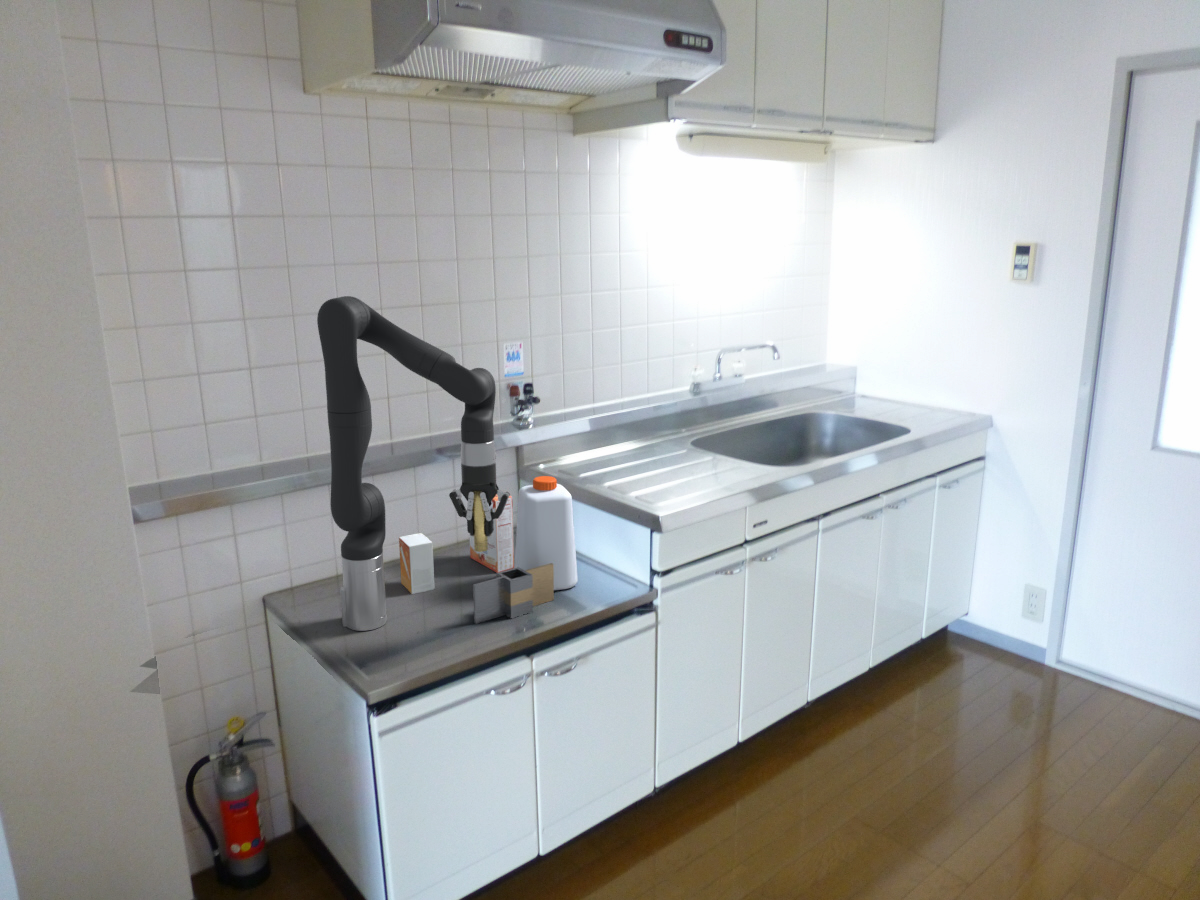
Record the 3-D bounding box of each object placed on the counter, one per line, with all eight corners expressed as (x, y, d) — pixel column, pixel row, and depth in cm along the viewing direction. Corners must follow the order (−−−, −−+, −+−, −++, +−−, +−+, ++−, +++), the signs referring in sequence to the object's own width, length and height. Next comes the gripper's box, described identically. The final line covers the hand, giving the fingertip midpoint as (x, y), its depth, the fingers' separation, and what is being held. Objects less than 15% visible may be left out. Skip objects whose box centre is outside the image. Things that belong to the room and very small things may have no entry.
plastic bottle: (581, 589, 223) (581, 484, 216) (524, 596, 219) (522, 489, 212) (565, 567, 237) (565, 468, 230) (511, 573, 233) (509, 473, 226)
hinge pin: (472, 551, 194) (470, 491, 190) (476, 546, 197) (474, 487, 193) (485, 552, 193) (484, 491, 190) (489, 547, 196) (487, 487, 193)
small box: (400, 583, 226) (398, 536, 222) (424, 579, 229) (421, 532, 226) (411, 594, 219) (408, 546, 216) (435, 589, 222) (433, 541, 219)
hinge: (481, 627, 201) (480, 589, 199) (468, 618, 206) (467, 580, 203) (560, 603, 214) (559, 567, 212) (545, 595, 219) (545, 559, 217)
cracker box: (468, 559, 243) (466, 487, 238) (487, 554, 247) (485, 483, 241) (496, 574, 232) (494, 499, 227) (514, 568, 236) (513, 495, 231)
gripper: (442, 463, 187) (445, 539, 192) (505, 466, 186) (507, 542, 190) (452, 455, 195) (455, 528, 199) (513, 457, 193) (515, 530, 197)
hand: (480, 534), depth 194 cm, fingers closed on hinge pin, 3 cm apart
